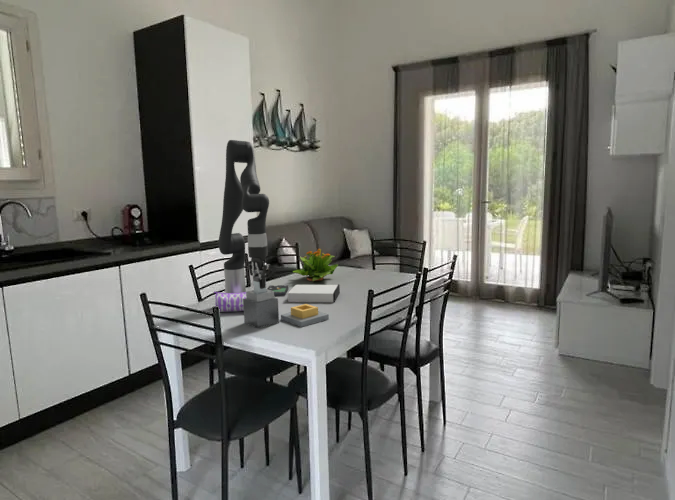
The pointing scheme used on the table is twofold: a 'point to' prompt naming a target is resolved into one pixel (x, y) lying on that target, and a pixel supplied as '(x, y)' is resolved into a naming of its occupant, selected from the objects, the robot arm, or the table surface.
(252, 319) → the grey open sleeve
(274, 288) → the disk drive
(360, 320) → the table surface
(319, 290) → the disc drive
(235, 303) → the pencil case
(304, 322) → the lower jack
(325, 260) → the potted flower
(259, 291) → the plug
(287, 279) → the table surface
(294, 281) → the table surface
